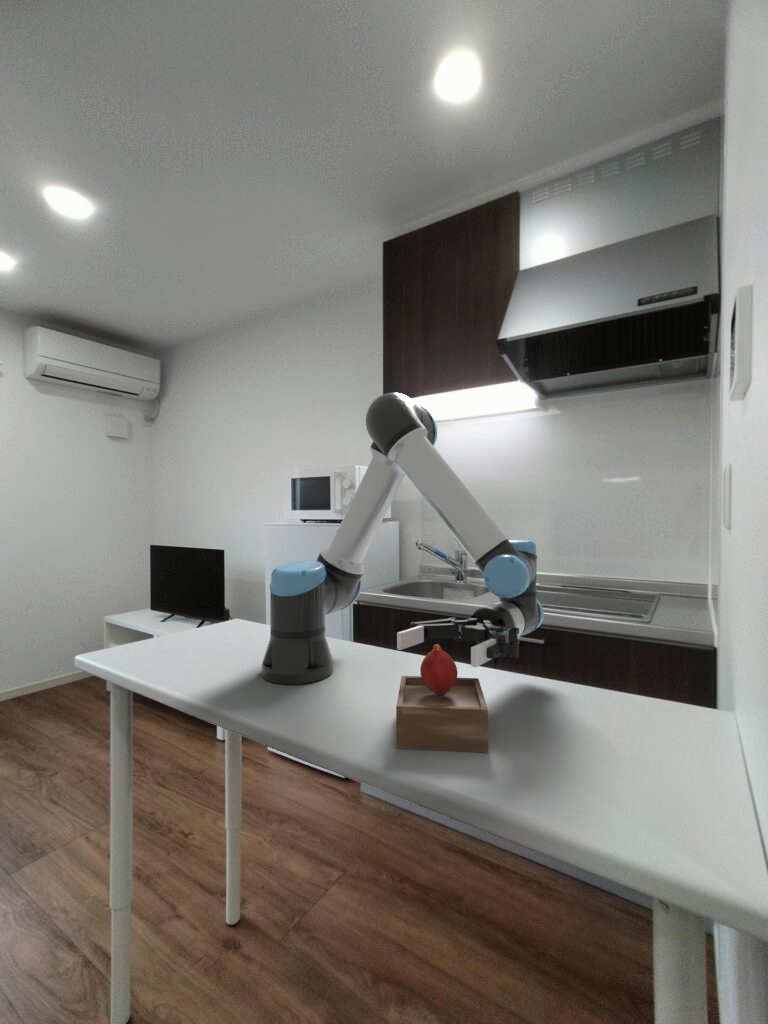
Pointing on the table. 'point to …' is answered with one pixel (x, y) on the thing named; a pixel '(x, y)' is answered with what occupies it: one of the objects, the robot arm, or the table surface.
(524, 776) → the table surface
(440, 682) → the onion
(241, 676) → the table surface
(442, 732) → the walnut tray
